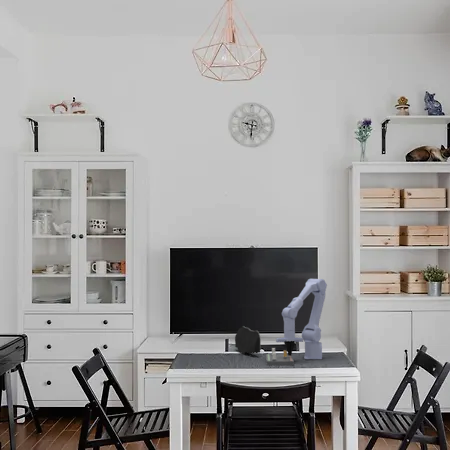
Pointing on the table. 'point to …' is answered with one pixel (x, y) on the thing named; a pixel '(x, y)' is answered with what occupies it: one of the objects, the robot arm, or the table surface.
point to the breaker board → (279, 360)
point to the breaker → (273, 350)
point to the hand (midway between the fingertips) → (289, 355)
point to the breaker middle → (285, 354)
